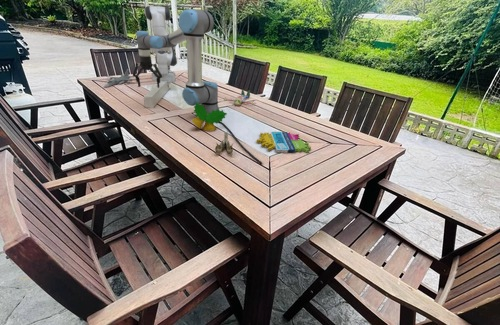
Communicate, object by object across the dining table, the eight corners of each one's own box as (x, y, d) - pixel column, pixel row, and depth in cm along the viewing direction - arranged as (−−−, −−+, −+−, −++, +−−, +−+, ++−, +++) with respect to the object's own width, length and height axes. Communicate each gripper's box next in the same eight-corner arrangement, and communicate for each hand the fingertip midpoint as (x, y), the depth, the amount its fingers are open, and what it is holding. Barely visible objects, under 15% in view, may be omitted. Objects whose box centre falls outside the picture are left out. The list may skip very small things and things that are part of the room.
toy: (261, 91, 228) (254, 99, 202) (261, 99, 231) (253, 108, 205) (231, 87, 233) (220, 95, 207) (230, 95, 236) (219, 104, 210)
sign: (313, 150, 142) (258, 149, 139) (312, 153, 143) (258, 152, 140) (301, 132, 164) (254, 130, 161) (301, 134, 165) (254, 133, 162)
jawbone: (234, 135, 144) (233, 125, 135) (233, 160, 138) (232, 151, 129) (217, 135, 144) (216, 125, 135) (216, 160, 138) (214, 150, 129)
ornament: (218, 133, 171) (224, 110, 169) (221, 134, 163) (227, 111, 161) (186, 125, 162) (192, 101, 160) (189, 126, 155) (195, 101, 153)
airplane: (101, 79, 257) (98, 68, 252) (135, 77, 270) (133, 67, 265) (102, 89, 228) (99, 78, 223) (140, 87, 242) (138, 76, 237)
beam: (153, 108, 192) (151, 96, 188) (145, 107, 192) (143, 96, 188) (169, 88, 244) (168, 79, 240) (163, 88, 243) (162, 79, 239)
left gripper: (175, 70, 233) (177, 86, 240) (152, 69, 232) (154, 85, 238) (174, 72, 228) (175, 88, 235) (150, 71, 226) (152, 87, 233)
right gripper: (164, 56, 185) (167, 86, 195) (128, 54, 183) (133, 84, 193) (162, 57, 178) (165, 89, 189) (124, 55, 176) (129, 87, 186)
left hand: (164, 86), depth 237 cm, fingers closed on beam, 5 cm apart
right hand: (149, 87), depth 191 cm, fingers open, 13 cm apart
